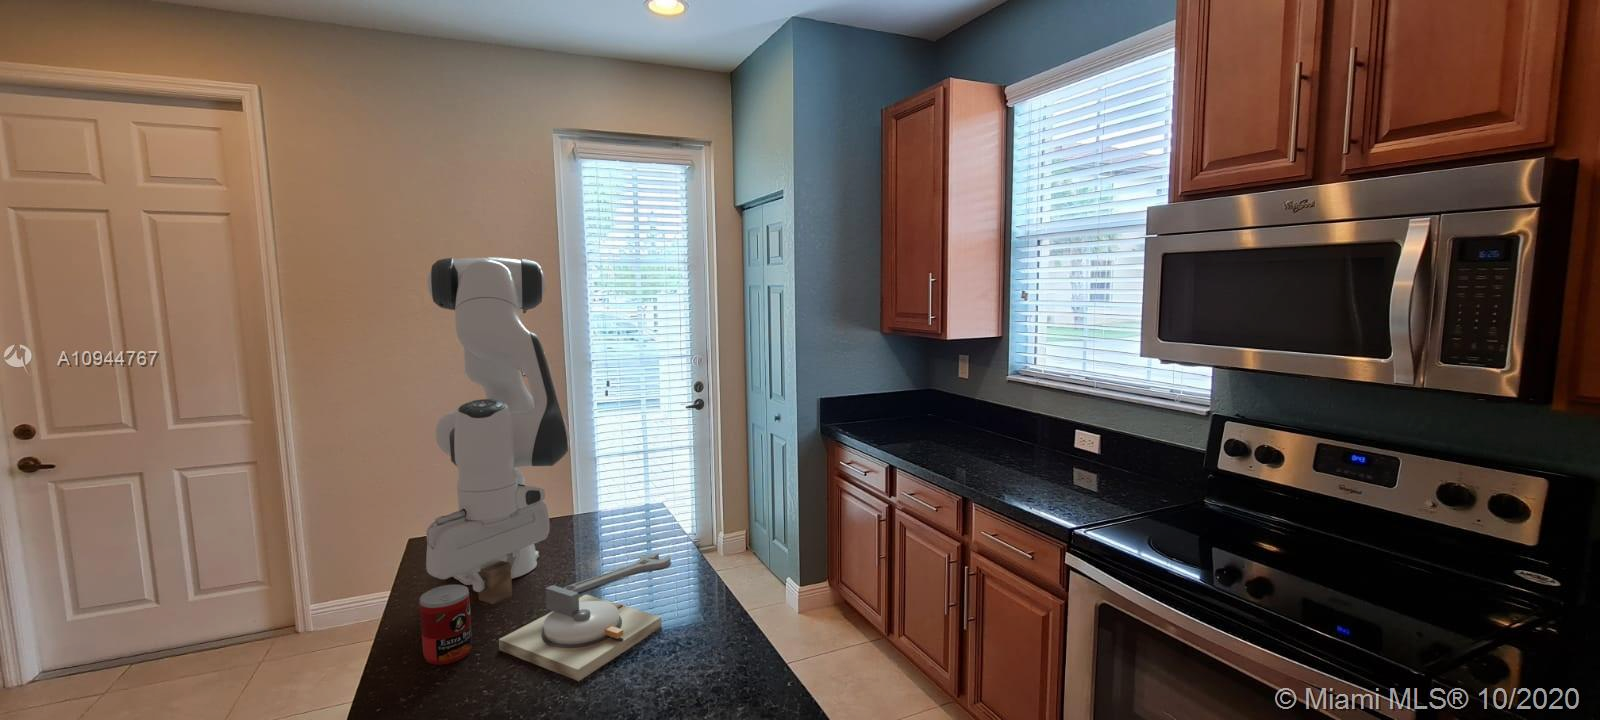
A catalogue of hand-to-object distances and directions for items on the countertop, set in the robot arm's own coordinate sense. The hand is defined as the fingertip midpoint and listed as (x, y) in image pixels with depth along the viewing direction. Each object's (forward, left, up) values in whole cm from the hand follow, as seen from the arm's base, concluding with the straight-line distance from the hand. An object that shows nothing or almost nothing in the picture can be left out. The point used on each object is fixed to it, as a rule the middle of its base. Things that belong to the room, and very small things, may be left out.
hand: (494, 583), depth 110 cm
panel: (+3, +15, -16) cm, 22 cm away
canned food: (-14, 0, -16) cm, 21 cm away
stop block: (0, 0, -2) cm, 2 cm away
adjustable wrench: (-12, +38, -16) cm, 43 cm away
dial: (+3, +15, -14) cm, 21 cm away
